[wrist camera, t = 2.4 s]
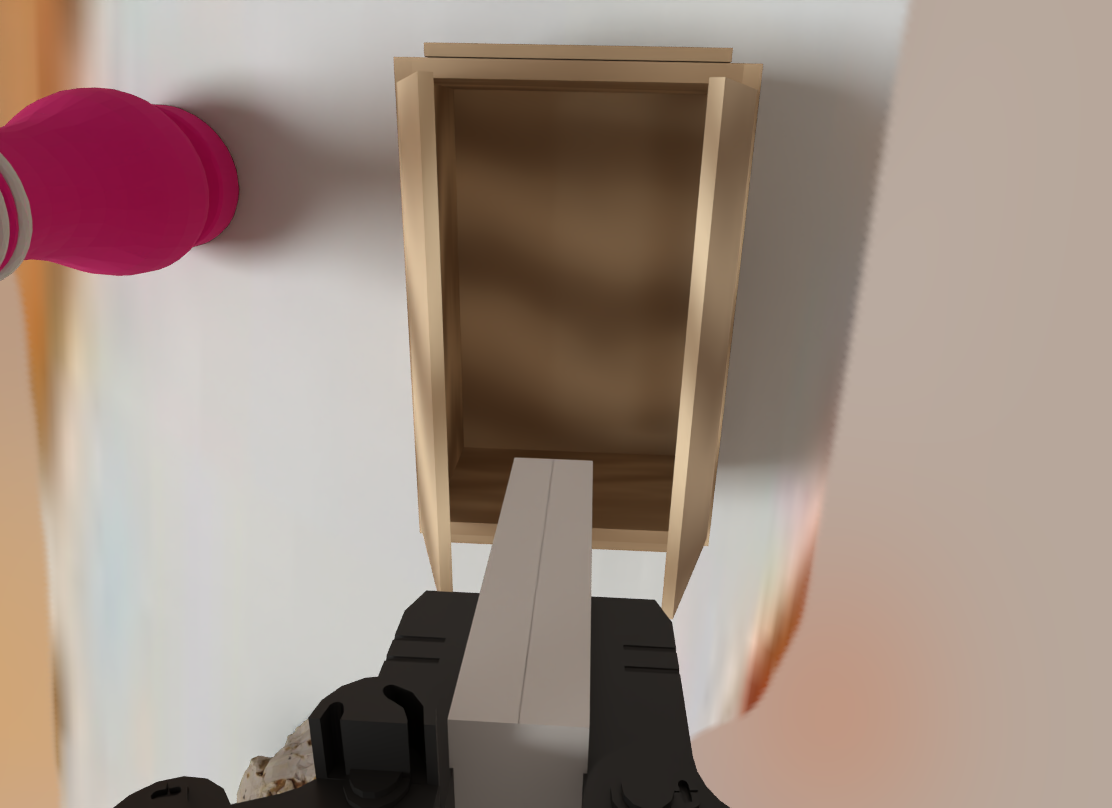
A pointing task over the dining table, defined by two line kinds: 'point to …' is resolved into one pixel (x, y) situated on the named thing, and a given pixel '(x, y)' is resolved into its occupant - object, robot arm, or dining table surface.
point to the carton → (568, 267)
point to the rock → (280, 768)
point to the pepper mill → (110, 183)
